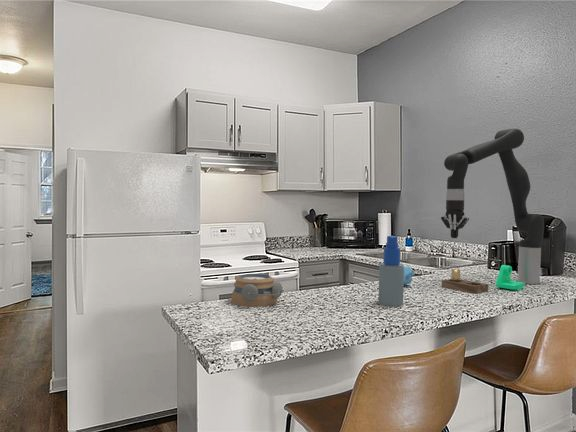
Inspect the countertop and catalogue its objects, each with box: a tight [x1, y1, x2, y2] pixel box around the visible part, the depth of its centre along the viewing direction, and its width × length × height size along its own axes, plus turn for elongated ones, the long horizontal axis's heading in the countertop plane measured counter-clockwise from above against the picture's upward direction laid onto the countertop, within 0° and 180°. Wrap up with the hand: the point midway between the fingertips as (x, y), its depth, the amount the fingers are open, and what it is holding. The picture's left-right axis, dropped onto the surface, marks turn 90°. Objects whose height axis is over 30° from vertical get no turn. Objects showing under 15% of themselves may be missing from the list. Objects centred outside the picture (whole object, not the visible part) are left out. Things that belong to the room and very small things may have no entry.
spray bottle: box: [377, 235, 405, 308], centre depth 155 cm, size 9×9×25 cm
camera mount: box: [495, 264, 526, 291], centre depth 187 cm, size 12×8×10 cm, turn 129°
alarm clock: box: [230, 273, 285, 308], centre depth 152 cm, size 17×9×23 cm
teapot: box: [381, 262, 416, 287], centre depth 190 cm, size 18×14×10 cm
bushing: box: [450, 268, 461, 282], centre depth 187 cm, size 4×4×8 cm
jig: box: [441, 278, 489, 295], centre depth 184 cm, size 10×16×3 cm, turn 36°
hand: (454, 238), depth 188 cm, fingers closed
